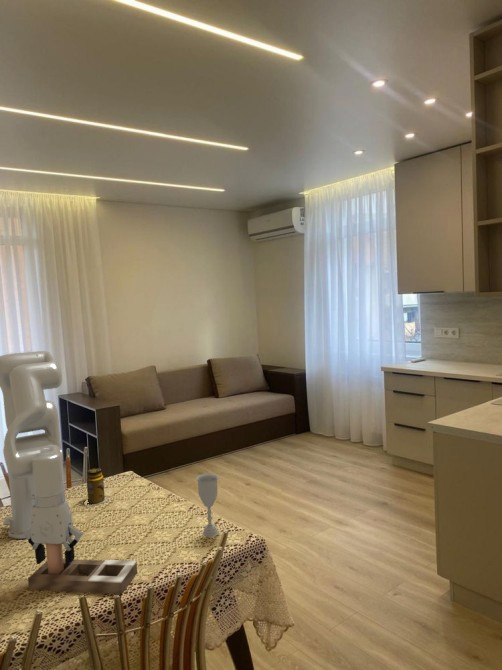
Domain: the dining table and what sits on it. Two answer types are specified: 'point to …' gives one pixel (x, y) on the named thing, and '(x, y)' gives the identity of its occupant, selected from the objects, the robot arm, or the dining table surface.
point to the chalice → (208, 499)
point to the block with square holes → (96, 582)
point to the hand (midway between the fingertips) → (55, 561)
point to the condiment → (95, 487)
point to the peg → (54, 559)
